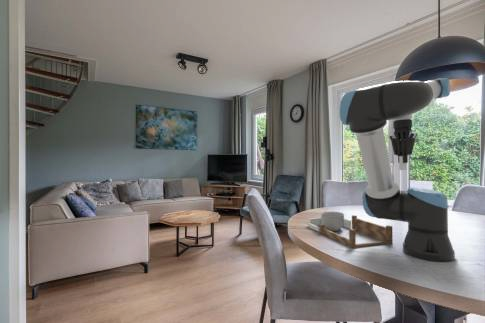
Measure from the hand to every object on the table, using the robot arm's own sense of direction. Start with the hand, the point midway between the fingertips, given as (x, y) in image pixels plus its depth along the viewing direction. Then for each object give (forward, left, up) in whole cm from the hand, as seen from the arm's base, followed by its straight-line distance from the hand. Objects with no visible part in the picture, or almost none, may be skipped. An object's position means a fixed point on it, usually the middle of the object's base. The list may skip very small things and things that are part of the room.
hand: (402, 169), depth 119 cm
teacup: (+16, +28, -30) cm, 44 cm away
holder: (+18, +28, -29) cm, 44 cm away
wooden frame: (0, +28, -29) cm, 41 cm away
